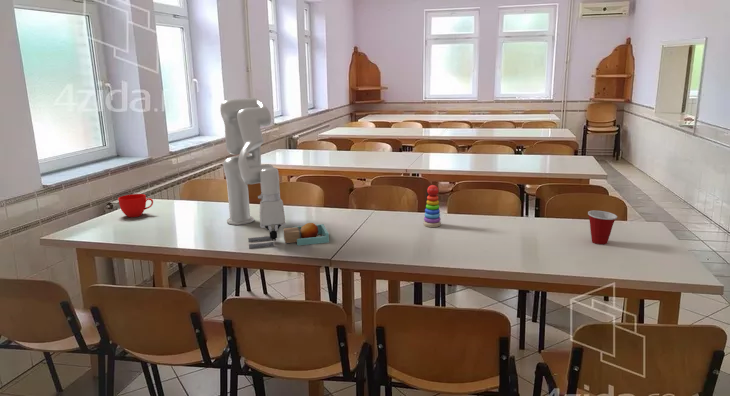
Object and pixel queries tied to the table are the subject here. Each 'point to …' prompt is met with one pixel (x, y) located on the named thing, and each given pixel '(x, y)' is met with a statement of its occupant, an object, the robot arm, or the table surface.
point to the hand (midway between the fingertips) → (273, 239)
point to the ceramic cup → (133, 204)
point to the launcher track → (260, 243)
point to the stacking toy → (432, 208)
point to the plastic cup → (601, 226)
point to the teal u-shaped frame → (315, 240)
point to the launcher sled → (291, 234)
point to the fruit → (309, 230)
